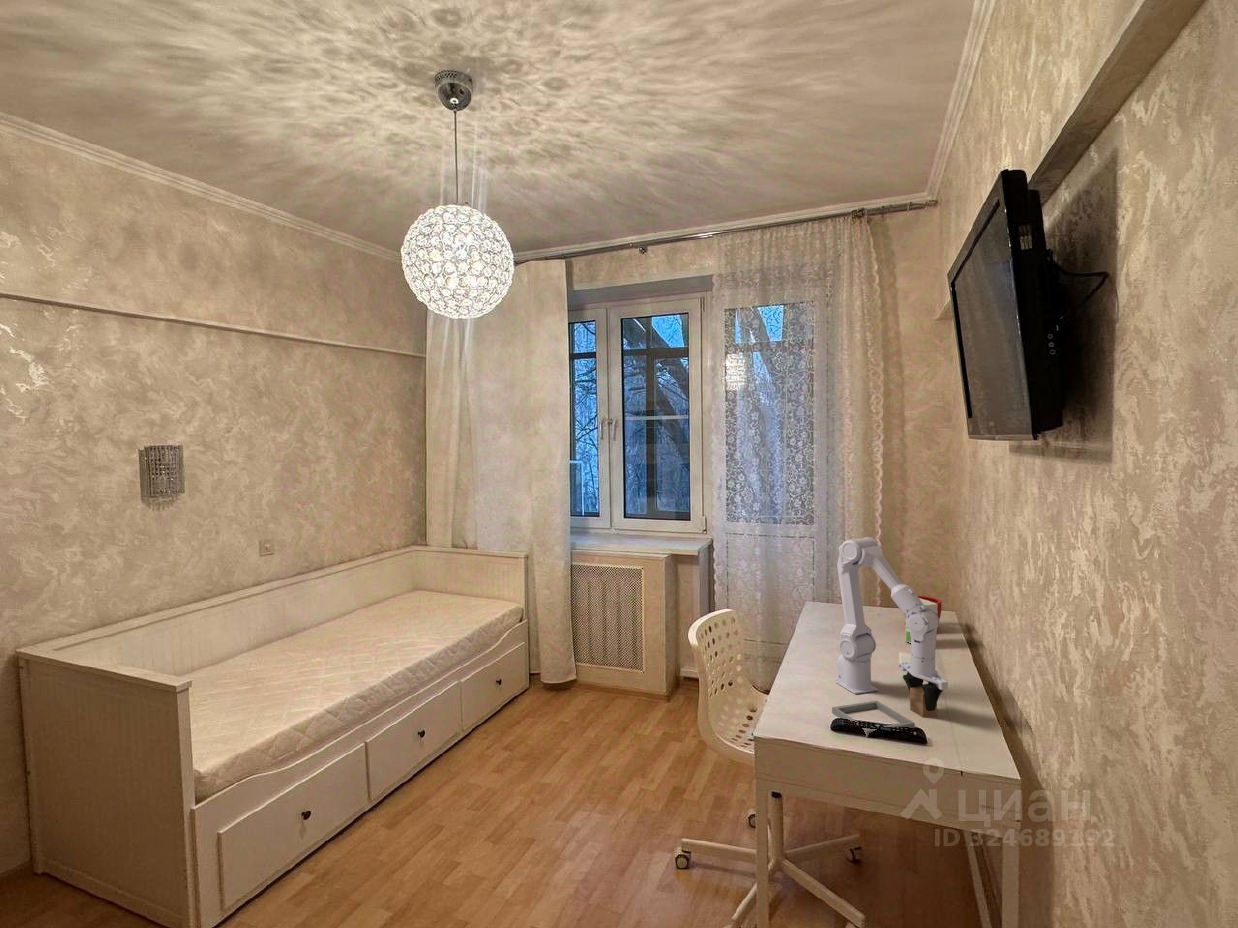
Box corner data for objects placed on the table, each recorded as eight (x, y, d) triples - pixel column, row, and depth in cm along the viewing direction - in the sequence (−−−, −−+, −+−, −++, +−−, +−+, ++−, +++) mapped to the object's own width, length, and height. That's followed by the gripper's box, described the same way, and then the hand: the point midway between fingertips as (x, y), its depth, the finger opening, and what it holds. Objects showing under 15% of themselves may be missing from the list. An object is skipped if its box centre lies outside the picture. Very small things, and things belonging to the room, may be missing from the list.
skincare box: (904, 642, 215) (904, 599, 214) (918, 639, 217) (918, 597, 216) (924, 649, 207) (923, 604, 206) (938, 647, 209) (938, 602, 209)
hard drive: (928, 667, 188) (925, 654, 199) (899, 663, 191) (898, 651, 202) (927, 672, 188) (925, 659, 199) (899, 668, 191) (898, 656, 202)
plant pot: (945, 636, 220) (944, 603, 220) (905, 633, 224) (905, 601, 224) (937, 625, 233) (937, 595, 233) (900, 623, 237) (900, 593, 237)
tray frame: (832, 712, 160) (832, 707, 160) (876, 705, 163) (876, 700, 163) (866, 737, 146) (866, 731, 146) (914, 728, 150) (914, 722, 150)
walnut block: (910, 709, 161) (910, 687, 160) (924, 707, 162) (923, 685, 162) (922, 717, 156) (922, 694, 156) (937, 714, 157) (936, 692, 157)
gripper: (957, 663, 153) (957, 715, 153) (915, 645, 167) (915, 693, 167) (934, 666, 151) (935, 719, 151) (894, 648, 165) (894, 696, 165)
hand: (923, 706), depth 159 cm, fingers closed on walnut block, 4 cm apart
